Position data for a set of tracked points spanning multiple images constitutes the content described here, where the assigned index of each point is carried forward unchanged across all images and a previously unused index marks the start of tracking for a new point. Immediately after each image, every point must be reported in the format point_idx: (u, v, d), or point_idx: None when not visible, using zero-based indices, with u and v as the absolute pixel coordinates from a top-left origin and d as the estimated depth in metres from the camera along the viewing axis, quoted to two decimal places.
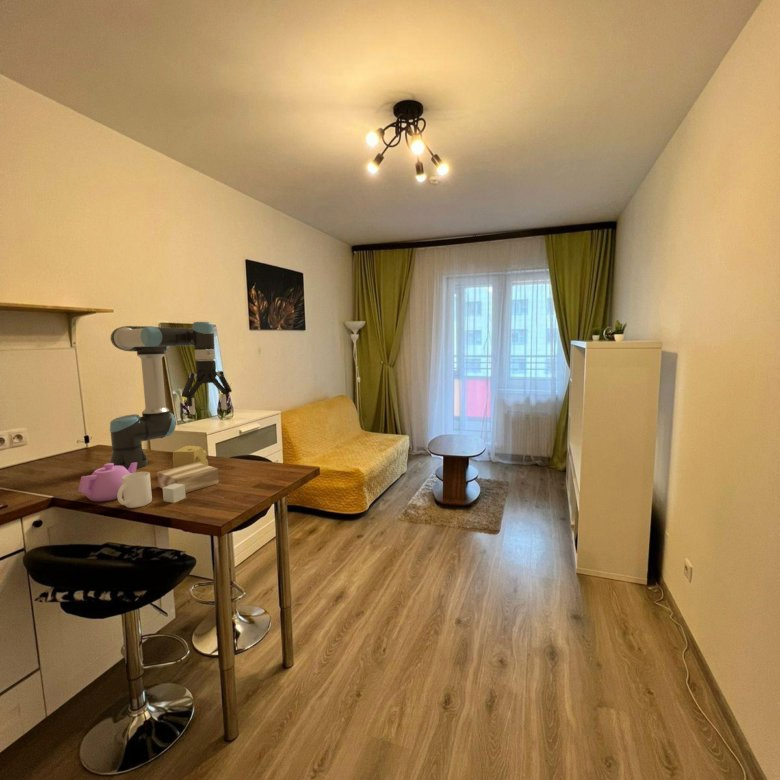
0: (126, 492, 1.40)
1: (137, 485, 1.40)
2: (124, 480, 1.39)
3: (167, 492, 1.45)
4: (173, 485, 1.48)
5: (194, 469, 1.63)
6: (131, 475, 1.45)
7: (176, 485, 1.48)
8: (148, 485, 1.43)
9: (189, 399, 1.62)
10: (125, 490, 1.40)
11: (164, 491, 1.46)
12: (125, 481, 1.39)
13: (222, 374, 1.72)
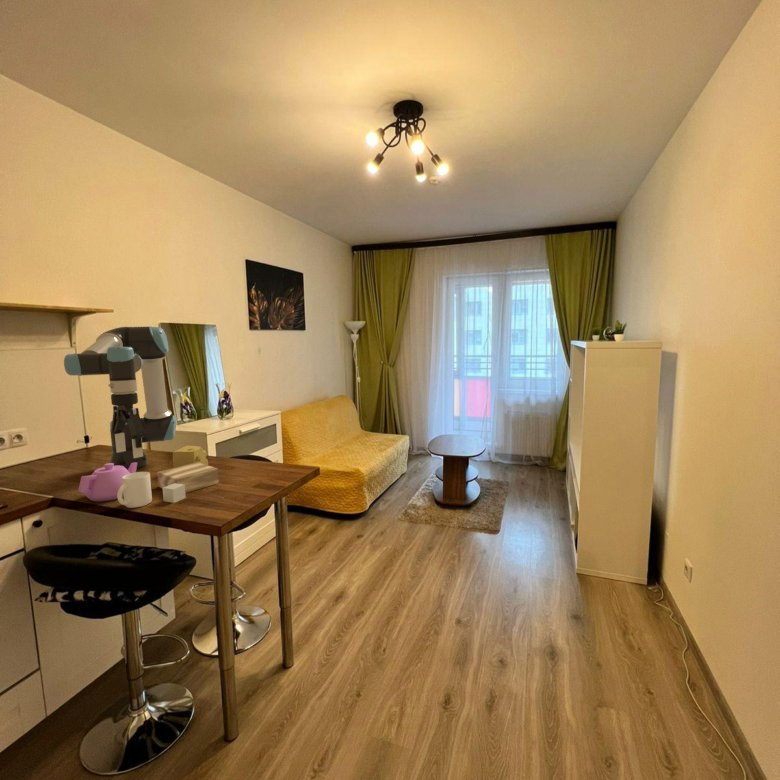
0: (126, 492, 1.40)
1: (137, 485, 1.40)
2: (124, 480, 1.39)
3: (167, 492, 1.45)
4: (173, 485, 1.48)
5: (194, 469, 1.63)
6: (131, 475, 1.45)
7: (176, 485, 1.48)
8: (148, 485, 1.43)
9: None
10: (125, 490, 1.40)
11: (164, 491, 1.46)
12: (125, 481, 1.39)
13: (130, 412, 1.34)
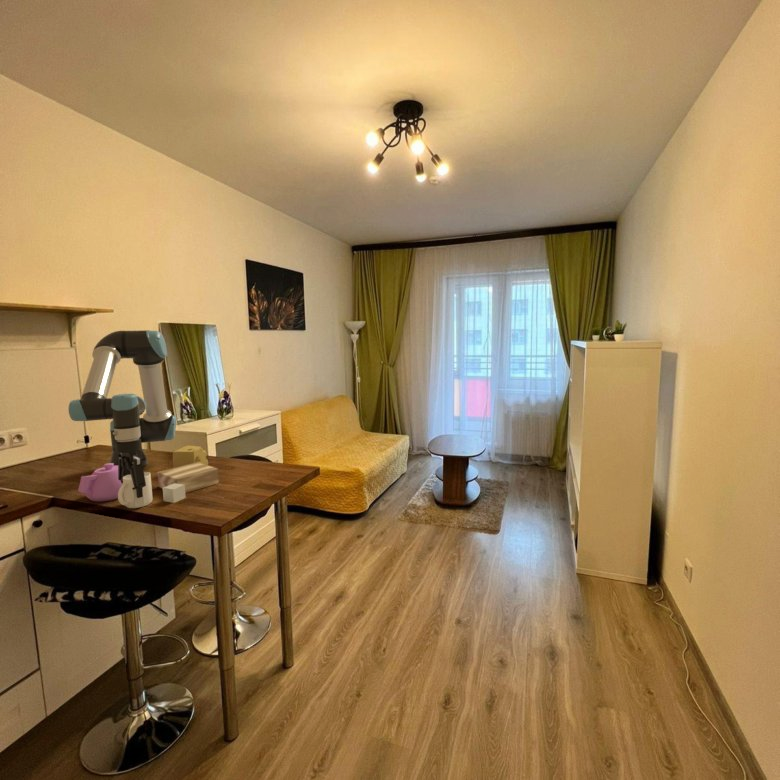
0: (127, 492, 1.39)
1: None
2: (125, 480, 1.39)
3: (167, 492, 1.45)
4: (173, 485, 1.48)
5: (194, 469, 1.63)
6: None
7: (176, 485, 1.48)
8: (149, 485, 1.43)
9: None
10: (126, 490, 1.39)
11: (164, 491, 1.46)
12: (126, 481, 1.39)
13: (133, 463, 1.36)
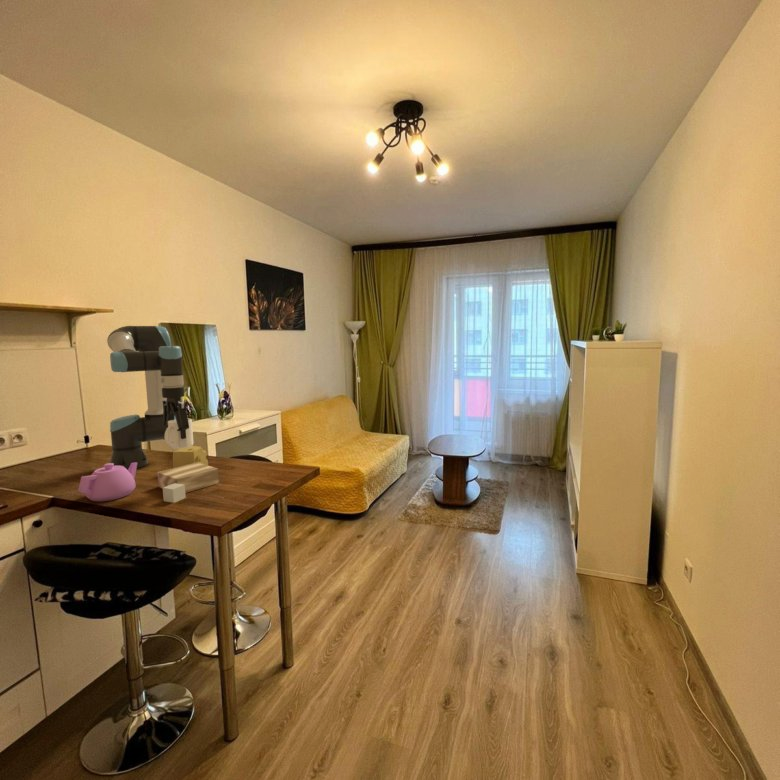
0: (171, 434, 1.55)
1: None
2: (170, 423, 1.54)
3: (167, 492, 1.45)
4: (173, 485, 1.48)
5: (194, 469, 1.63)
6: (175, 421, 1.60)
7: (176, 485, 1.48)
8: (190, 429, 1.58)
9: None
10: (171, 432, 1.55)
11: (164, 491, 1.46)
12: (171, 424, 1.54)
13: (178, 407, 1.51)
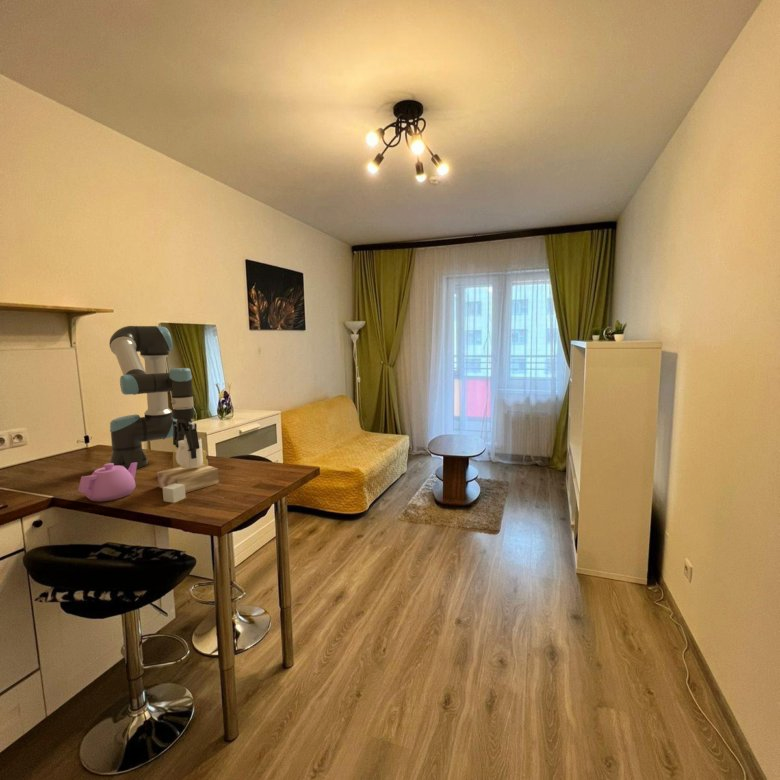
0: (182, 454, 1.59)
1: None
2: (180, 443, 1.59)
3: (167, 492, 1.45)
4: (173, 485, 1.48)
5: (194, 469, 1.63)
6: (185, 440, 1.65)
7: (176, 485, 1.48)
8: (200, 449, 1.63)
9: (177, 448, 1.64)
10: (181, 452, 1.59)
11: (164, 491, 1.46)
12: (181, 444, 1.59)
13: (189, 427, 1.56)
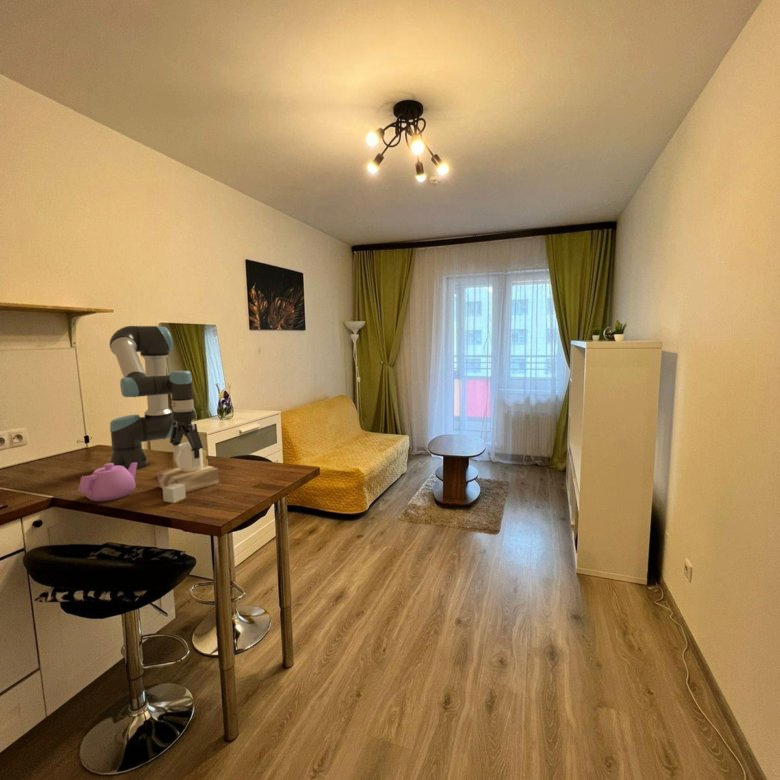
0: (182, 458, 1.59)
1: None
2: (181, 447, 1.59)
3: (167, 492, 1.45)
4: (173, 485, 1.48)
5: None
6: (185, 444, 1.65)
7: (176, 485, 1.48)
8: (200, 452, 1.63)
9: (174, 446, 1.65)
10: (181, 456, 1.59)
11: (164, 491, 1.46)
12: (182, 448, 1.59)
13: (190, 428, 1.56)
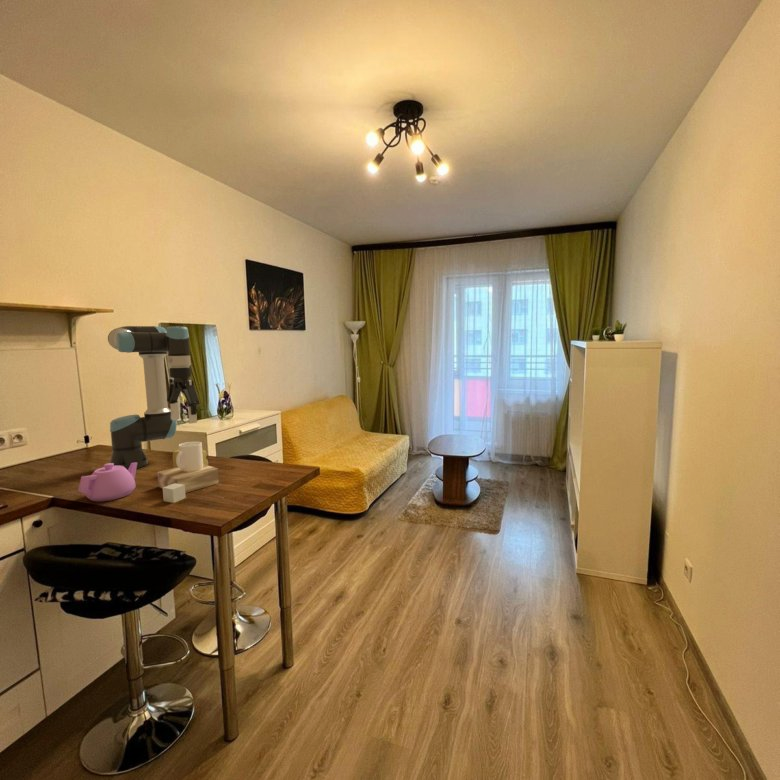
0: (182, 458, 1.59)
1: (192, 452, 1.59)
2: (181, 447, 1.59)
3: (167, 492, 1.45)
4: (173, 485, 1.48)
5: None
6: (185, 444, 1.65)
7: (176, 485, 1.48)
8: (201, 452, 1.63)
9: None
10: (182, 456, 1.59)
11: (164, 491, 1.46)
12: (182, 448, 1.59)
13: (186, 384, 1.54)
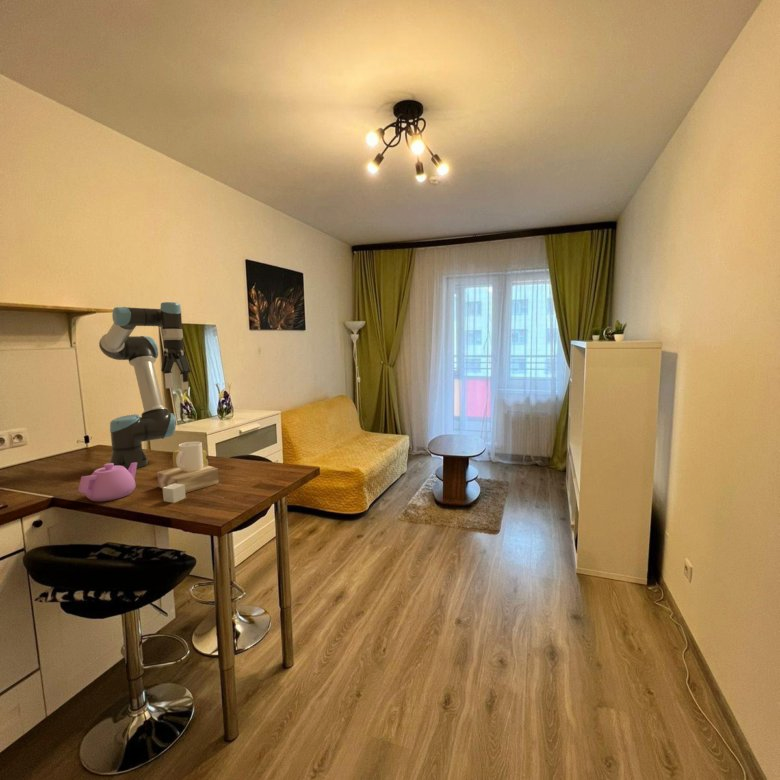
0: (182, 458, 1.59)
1: (192, 452, 1.59)
2: (181, 447, 1.59)
3: (167, 492, 1.45)
4: (173, 485, 1.48)
5: None
6: (185, 444, 1.65)
7: (176, 485, 1.48)
8: (201, 452, 1.63)
9: (165, 374, 1.81)
10: (182, 456, 1.59)
11: (164, 491, 1.46)
12: (182, 448, 1.59)
13: (179, 354, 1.71)
